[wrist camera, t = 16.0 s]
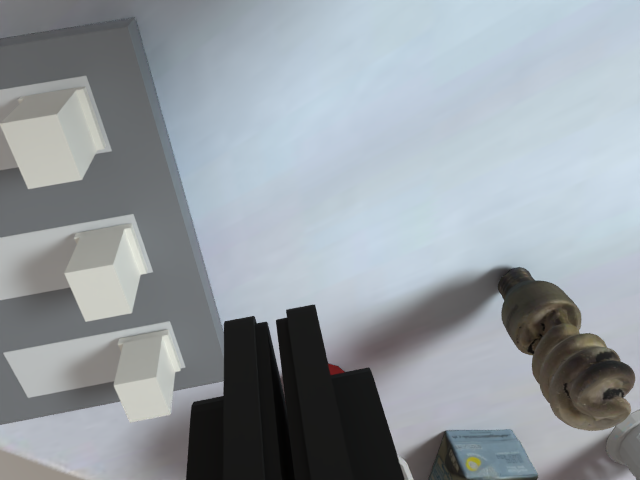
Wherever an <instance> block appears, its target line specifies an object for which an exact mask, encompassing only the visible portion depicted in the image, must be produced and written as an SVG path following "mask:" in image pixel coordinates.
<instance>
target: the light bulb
mask: <svg viewBox="0 0 640 480" xmlns="http://www.w3.org/2000/svg"><path fill="white" fill-rule="evenodd" d="M498 290H499V292H500V293H501V295H502V297H503V299H504V303H503V307H502V321H503V324H504V326H505V328H506V330H507V332H508V334H509V336H510V337H511V339H512V340H513V342H514V344H515V345H516V346H517V348H518V349H519V350H520V351H521V352H523V353H526V354H528V355H533V359H532V371H533V375H534V377H535V379H536V381H537V382H538V383H539V384H540V388H541V391H542V393H543V396H544V397H545V398H546V400H547V401H548V402H549V403H550V406H551V408H552V410H553V412H554V414H555V415H556V416H557V417H558V418H559V419H560V420H561V421H563V422H564V423H566V424H567V425H570V426H572V427H574V428H577V429H583V430H589V431H596V430H604V429H608V428H611V427H614V426H616V425H618V424H620V423H621V422H623V421H624V420H625V419H626V418H627V417H628V416H629V415H630V412H631V406H630V404H629V403H628V402H627V400H626V399H624V398H623V397H625V396H626V395H627V394H628V393H629V391H630V390H631V389H632V388H633V386H634V382H635V374H634V372H633V370H632V369H631V367H630V366H628V365H627V364H625V363H623V362H621V361H620V358H619V356H618V354H617V353H616V352H615V351H614V350H612V349H609V348H607V347H606V344H605V342H604V341H603V340H602V339H601V338H600V337H599V336H597V335H594V334H590V333H586V334H580V333H579V329H580V327H581V313H580V311H579V309H578V307H577V306H576V305H575V304H574V302H573V301H572V300H571V299H570V298H569V297H568V296H567V295H566V294H565V293H564V292H563V290H561V289H560V288H559V287H558V286H556V285H554V284H552V283H549V282H546V281H535V280H534V279H533V278H532V276H531V275H530V273H529V271H527V270H526V269H524V268H520V267H518V268H513V269H511V270H510V271H509V272H508V273H507V274H506V275H505V276H503V277H501V279H500V281H499V283H498Z"/></svg>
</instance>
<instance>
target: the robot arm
mask: <svg viewBox="0 0 640 480" xmlns="http://www.w3.org/2000/svg"><path fill="white" fill-rule="evenodd" d="M286 313H287V318H283V319H278V320H276V325H277V333H278V342H279V350H280V358H281V367H282V375H283V384H284V392H285V398H284V394H283V389H282V385H281V380H280V376H279V371H278V367H277V362H276V358H275V354H274V349H273V345H272V340H271V336H270V331H269V327H268V323H267V322H262V323H256V319H255V317H254V316H251V317H246V318H241V319H235V320H230V321H225V323H224V396H222V397H217V398H212V399H206V400H201V401H196V402H193V405H192V409H191V418H190V433H189V447H188V462H187V476H186V480H405V479H404V475H403V472H402V469H401V466H400V462H399V459H398V456H397V453H396V449H395V446H394V443H393V440H392V436H391V433H390V430H389V427H388V424H387V420H386V417H385V414H384V411H383V407H382V404H381V401H380V398H379V394H378V391H377V388H376V385H375V382H374V378H373V375H372V372H371V370H370V368H364V369H359V370H354V371H349V372H344V373H339V374H334V375H330V371H329V366H328V361H327V357H326V352H325V348H324V343H323V339H322V334H321V330H320V325H319V321H318V316H317V312H316V307H315V305H309V306H304V307H299V308H293V309H288V310H286ZM285 400H286V402H285Z"/></svg>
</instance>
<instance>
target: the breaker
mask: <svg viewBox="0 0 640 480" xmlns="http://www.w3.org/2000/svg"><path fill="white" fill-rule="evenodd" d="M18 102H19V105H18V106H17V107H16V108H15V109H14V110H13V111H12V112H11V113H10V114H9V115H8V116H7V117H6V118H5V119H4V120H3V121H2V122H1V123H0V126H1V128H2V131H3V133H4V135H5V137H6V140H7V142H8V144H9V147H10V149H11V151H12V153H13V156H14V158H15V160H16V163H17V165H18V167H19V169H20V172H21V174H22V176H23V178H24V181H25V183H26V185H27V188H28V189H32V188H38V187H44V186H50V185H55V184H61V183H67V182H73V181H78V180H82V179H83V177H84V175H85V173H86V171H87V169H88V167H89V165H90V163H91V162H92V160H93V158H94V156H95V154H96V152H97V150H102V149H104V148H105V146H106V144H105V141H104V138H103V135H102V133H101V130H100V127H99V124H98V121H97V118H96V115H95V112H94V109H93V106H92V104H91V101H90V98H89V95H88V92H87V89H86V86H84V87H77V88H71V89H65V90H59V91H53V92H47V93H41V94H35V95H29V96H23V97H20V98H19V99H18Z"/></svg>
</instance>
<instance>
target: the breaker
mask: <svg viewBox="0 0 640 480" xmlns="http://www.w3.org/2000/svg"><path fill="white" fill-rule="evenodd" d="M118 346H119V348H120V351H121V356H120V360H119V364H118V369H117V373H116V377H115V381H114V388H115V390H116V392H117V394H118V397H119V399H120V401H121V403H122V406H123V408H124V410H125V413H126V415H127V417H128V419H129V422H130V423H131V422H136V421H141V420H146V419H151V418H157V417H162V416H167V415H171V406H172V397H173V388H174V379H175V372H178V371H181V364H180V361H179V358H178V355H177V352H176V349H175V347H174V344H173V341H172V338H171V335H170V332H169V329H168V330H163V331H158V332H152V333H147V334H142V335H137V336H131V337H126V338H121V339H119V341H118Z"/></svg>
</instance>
